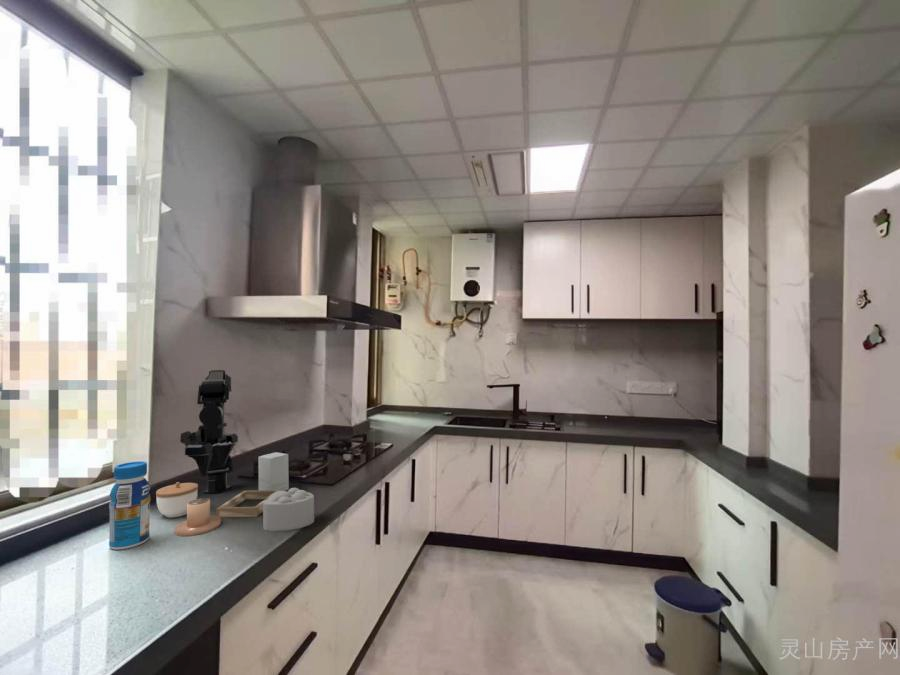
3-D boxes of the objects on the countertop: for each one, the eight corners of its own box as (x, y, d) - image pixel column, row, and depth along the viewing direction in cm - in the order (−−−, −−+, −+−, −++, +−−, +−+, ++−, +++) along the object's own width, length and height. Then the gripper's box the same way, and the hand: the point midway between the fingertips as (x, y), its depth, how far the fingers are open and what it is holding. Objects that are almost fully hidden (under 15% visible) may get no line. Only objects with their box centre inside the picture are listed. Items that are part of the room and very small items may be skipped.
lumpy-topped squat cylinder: (274, 516, 120) (274, 486, 120) (318, 514, 121) (318, 485, 121) (259, 531, 110) (259, 499, 110) (308, 529, 110) (307, 497, 111)
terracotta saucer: (191, 519, 119) (191, 516, 119) (228, 519, 119) (228, 515, 119) (164, 536, 108) (164, 532, 108) (206, 535, 108) (206, 531, 108)
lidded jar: (148, 517, 122) (148, 485, 122) (185, 505, 131) (185, 475, 131) (168, 523, 117) (168, 490, 117) (205, 510, 126) (205, 479, 126)
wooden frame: (243, 498, 136) (243, 490, 136) (279, 497, 136) (279, 490, 136) (216, 517, 120) (216, 508, 120) (256, 516, 120) (256, 507, 120)
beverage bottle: (100, 547, 102) (101, 467, 103) (136, 534, 110) (138, 459, 111) (121, 553, 99) (123, 470, 100) (157, 538, 107) (158, 461, 107)
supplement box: (289, 489, 144) (289, 453, 145) (270, 496, 138) (270, 458, 139) (276, 486, 148) (276, 451, 149) (257, 492, 142) (257, 456, 143)
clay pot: (194, 519, 116) (195, 498, 116) (214, 519, 116) (214, 497, 116) (182, 527, 111) (182, 505, 111) (202, 527, 111) (202, 504, 111)
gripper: (205, 417, 136) (205, 464, 135) (166, 426, 117) (165, 481, 116) (238, 416, 136) (238, 463, 135) (204, 425, 117) (204, 480, 116)
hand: (212, 471), depth 126 cm, fingers open, 9 cm apart
